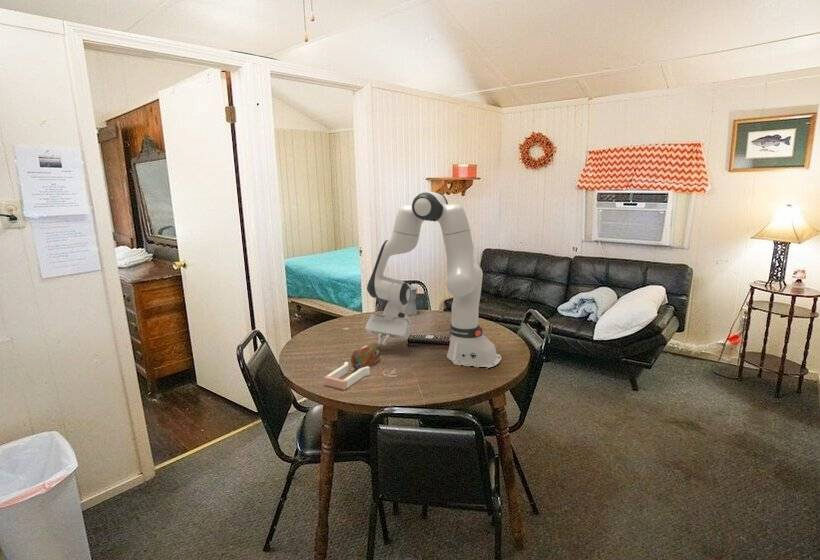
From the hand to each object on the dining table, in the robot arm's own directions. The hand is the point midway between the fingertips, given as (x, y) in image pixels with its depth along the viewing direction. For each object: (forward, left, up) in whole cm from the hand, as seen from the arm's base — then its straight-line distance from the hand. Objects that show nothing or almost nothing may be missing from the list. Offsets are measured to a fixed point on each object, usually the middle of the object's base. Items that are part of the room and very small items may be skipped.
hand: (381, 344), depth 186 cm
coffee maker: (+18, -59, -5) cm, 61 cm away
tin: (0, +13, -5) cm, 13 cm away
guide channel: (0, +27, -5) cm, 27 cm away
